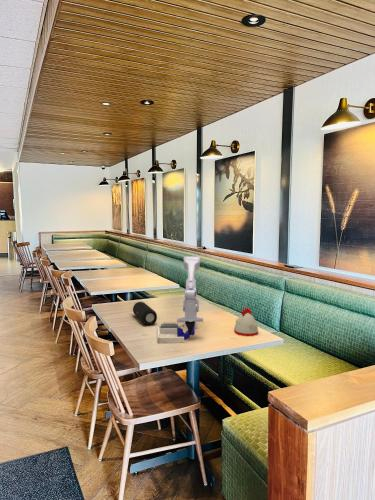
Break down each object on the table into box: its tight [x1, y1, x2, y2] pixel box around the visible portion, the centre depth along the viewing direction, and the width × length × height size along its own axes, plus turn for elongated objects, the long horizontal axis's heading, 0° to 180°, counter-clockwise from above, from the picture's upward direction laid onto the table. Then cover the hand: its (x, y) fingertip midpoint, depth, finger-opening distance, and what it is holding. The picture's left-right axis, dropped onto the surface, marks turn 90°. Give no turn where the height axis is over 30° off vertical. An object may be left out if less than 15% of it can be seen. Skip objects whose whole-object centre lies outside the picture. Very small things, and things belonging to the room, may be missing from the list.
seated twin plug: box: [160, 322, 179, 328], centre depth 212 cm, size 4×10×5 cm, turn 96°
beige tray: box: [157, 324, 185, 344], centre depth 205 cm, size 21×14×3 cm, turn 6°
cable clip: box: [176, 325, 196, 341], centre depth 205 cm, size 12×4×6 cm, turn 140°
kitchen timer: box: [233, 307, 259, 337], centre depth 214 cm, size 14×14×15 cm
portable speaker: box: [132, 301, 158, 326], centre depth 234 cm, size 26×10×10 cm, turn 24°
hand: (189, 334), depth 202 cm, fingers closed
